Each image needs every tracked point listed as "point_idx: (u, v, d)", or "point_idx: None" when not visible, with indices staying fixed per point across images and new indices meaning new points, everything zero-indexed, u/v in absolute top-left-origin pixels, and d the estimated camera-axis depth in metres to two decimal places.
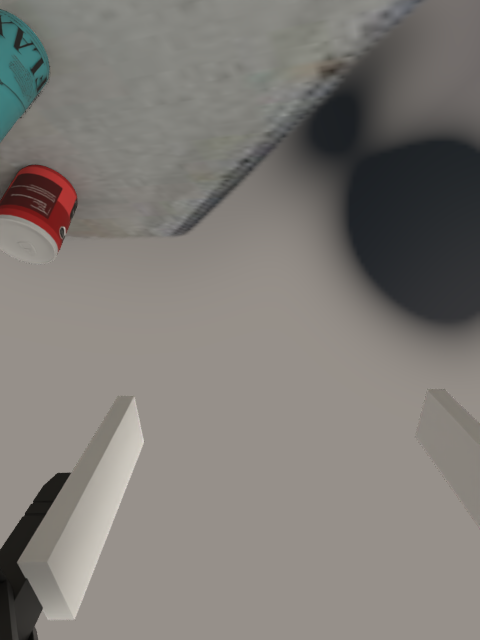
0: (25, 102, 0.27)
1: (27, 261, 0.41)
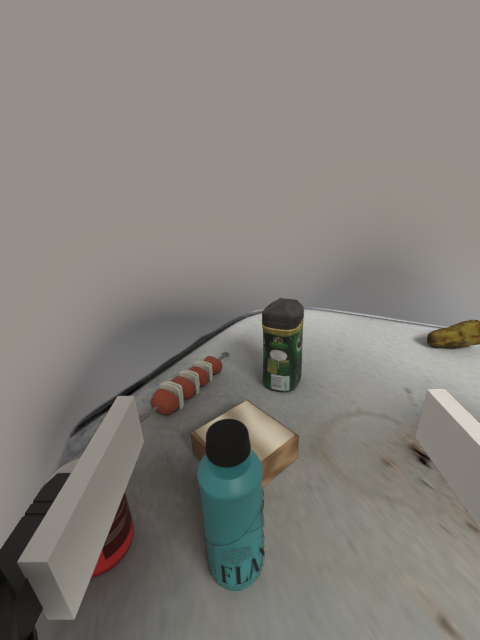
0: (221, 548, 0.29)
1: (52, 476, 0.34)
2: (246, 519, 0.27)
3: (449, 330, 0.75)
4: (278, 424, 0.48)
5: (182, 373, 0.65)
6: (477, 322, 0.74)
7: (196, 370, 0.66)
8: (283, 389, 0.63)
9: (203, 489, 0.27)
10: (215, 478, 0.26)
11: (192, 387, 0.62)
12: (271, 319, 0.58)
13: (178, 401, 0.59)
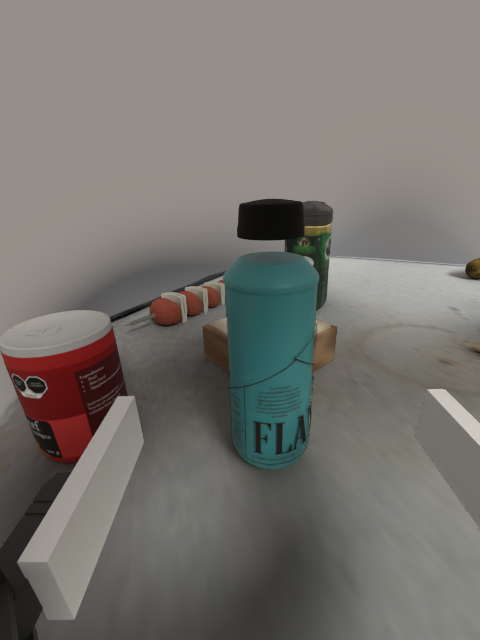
0: (258, 391, 0.20)
1: (21, 324, 0.25)
2: (297, 337, 0.18)
3: None
4: None
5: (189, 289, 0.56)
6: None
7: (205, 288, 0.58)
8: None
9: (235, 284, 0.18)
10: (254, 266, 0.18)
11: (199, 302, 0.54)
12: None
13: (180, 312, 0.51)
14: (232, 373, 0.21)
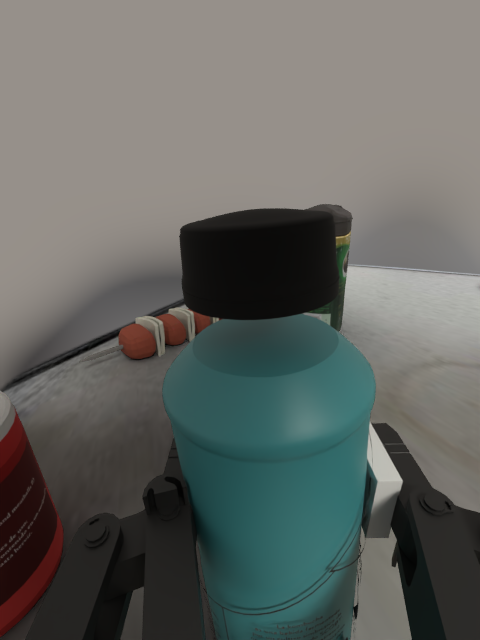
0: (252, 621, 0.09)
1: None
2: (334, 526, 0.08)
3: None
4: None
5: (173, 311, 0.46)
6: None
7: None
8: None
9: (179, 422, 0.07)
10: (222, 378, 0.07)
11: (181, 329, 0.43)
12: None
13: (155, 343, 0.41)
14: (201, 556, 0.11)
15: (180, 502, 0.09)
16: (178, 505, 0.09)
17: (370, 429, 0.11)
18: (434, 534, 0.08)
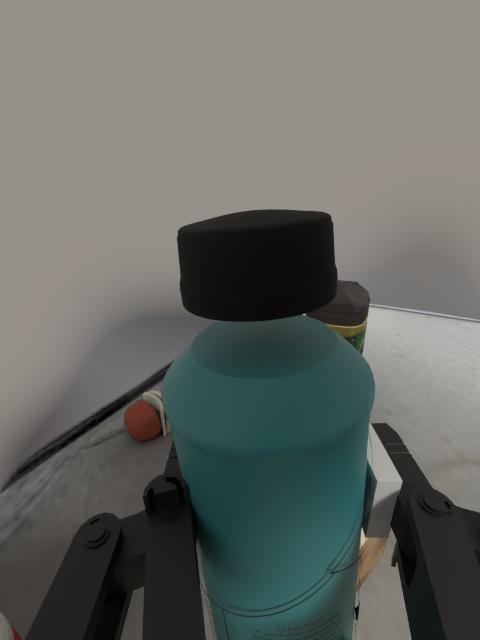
0: (252, 623, 0.09)
1: None
2: (334, 528, 0.08)
3: None
4: None
5: None
6: None
7: None
8: None
9: (177, 424, 0.07)
10: (220, 379, 0.07)
11: None
12: (324, 308, 0.37)
13: (160, 424, 0.40)
14: (201, 557, 0.11)
15: (180, 502, 0.09)
16: (178, 505, 0.09)
17: (370, 429, 0.11)
18: (434, 534, 0.08)
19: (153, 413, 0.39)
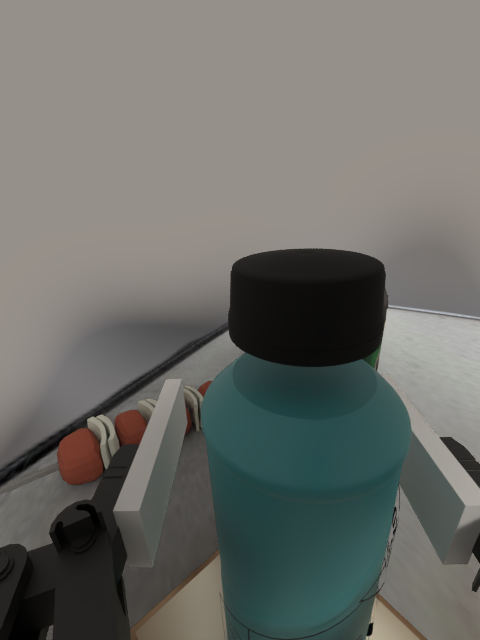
0: None
1: None
2: (367, 559, 0.08)
3: None
4: (380, 608, 0.17)
5: (143, 405, 0.35)
6: None
7: None
8: None
9: (224, 457, 0.08)
10: (269, 417, 0.07)
11: None
12: None
13: (101, 464, 0.30)
14: (224, 576, 0.11)
15: (97, 529, 0.08)
16: (94, 533, 0.08)
17: (441, 445, 0.10)
18: None
19: (92, 449, 0.30)
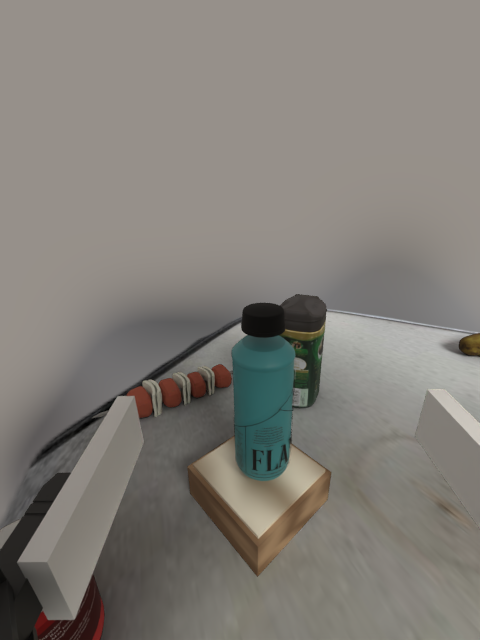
0: (254, 429, 0.29)
1: None
2: (280, 395, 0.28)
3: None
4: (303, 456, 0.37)
5: (176, 376, 0.55)
6: None
7: (193, 377, 0.56)
8: (300, 405, 0.52)
9: (240, 363, 0.27)
10: (252, 351, 0.27)
11: (177, 395, 0.52)
12: (289, 318, 0.47)
13: (151, 407, 0.50)
14: (237, 415, 0.31)
15: None
16: None
17: None
18: None
19: (147, 397, 0.50)
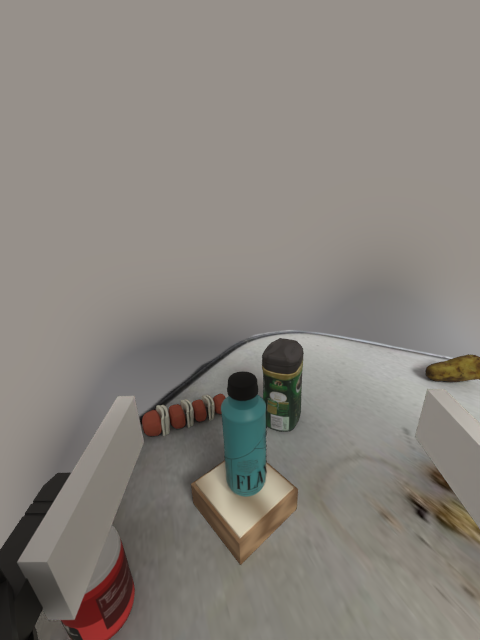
0: (237, 461, 0.41)
1: None
2: (255, 439, 0.40)
3: (447, 365, 0.76)
4: (278, 476, 0.49)
5: (183, 402, 0.68)
6: (475, 358, 0.74)
7: (197, 404, 0.68)
8: (283, 429, 0.63)
9: (226, 417, 0.39)
10: (234, 409, 0.39)
11: (181, 420, 0.65)
12: (271, 363, 0.58)
13: (160, 428, 0.63)
14: (225, 450, 0.43)
15: None
16: None
17: None
18: None
19: (157, 420, 0.63)
